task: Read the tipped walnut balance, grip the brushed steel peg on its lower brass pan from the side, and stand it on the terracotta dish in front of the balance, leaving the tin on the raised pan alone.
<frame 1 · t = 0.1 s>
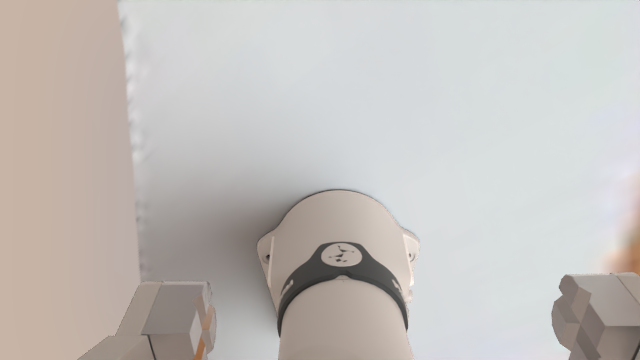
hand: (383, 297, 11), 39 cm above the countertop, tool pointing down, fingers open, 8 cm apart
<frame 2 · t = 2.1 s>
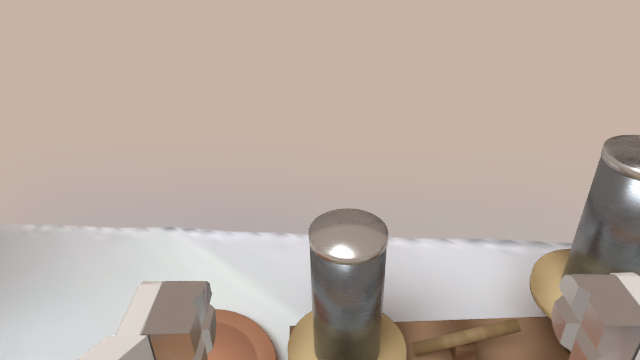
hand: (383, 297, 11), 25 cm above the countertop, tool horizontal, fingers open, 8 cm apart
brushed steel peg: (346, 346, 37), point 3 cm above the countertop, touching balance
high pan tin: (599, 289, 34), point 8 cm above the countertop, touching balance
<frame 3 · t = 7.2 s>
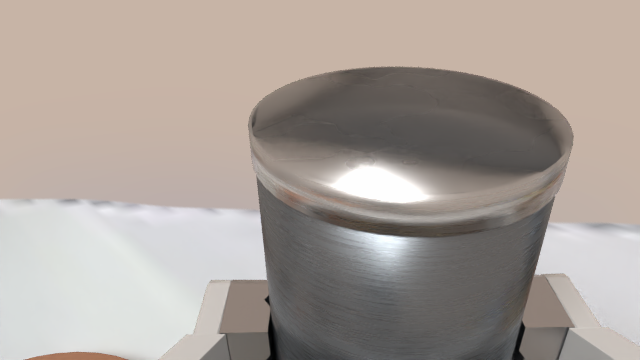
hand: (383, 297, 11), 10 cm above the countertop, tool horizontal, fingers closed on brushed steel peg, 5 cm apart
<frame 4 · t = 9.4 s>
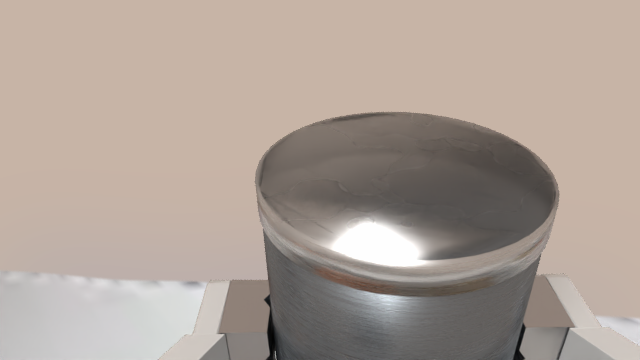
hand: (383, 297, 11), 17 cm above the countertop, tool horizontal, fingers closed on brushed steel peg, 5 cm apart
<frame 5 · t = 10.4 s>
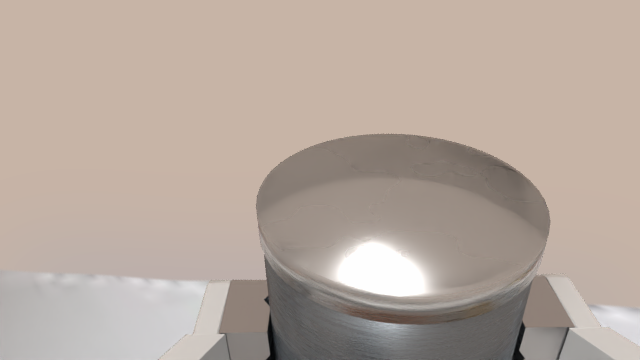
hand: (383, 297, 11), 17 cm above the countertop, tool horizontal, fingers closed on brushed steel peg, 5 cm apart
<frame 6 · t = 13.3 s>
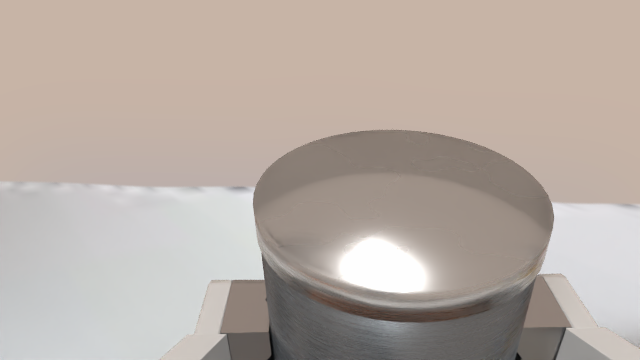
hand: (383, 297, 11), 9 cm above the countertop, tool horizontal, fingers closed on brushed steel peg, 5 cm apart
when the fingers open (9 cm above the countertop, at t = 13.5 s): brushed steel peg stays where it is, resting on dish.
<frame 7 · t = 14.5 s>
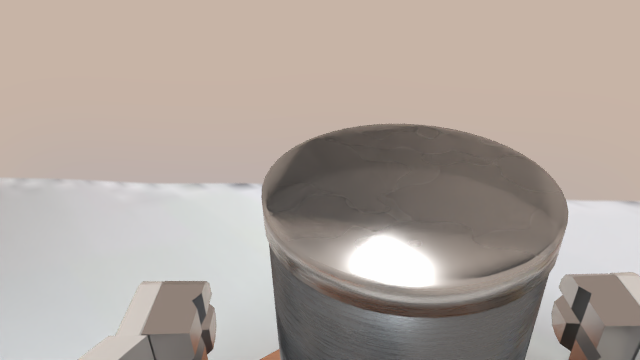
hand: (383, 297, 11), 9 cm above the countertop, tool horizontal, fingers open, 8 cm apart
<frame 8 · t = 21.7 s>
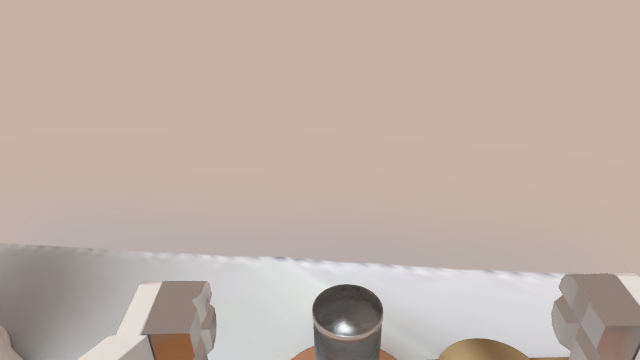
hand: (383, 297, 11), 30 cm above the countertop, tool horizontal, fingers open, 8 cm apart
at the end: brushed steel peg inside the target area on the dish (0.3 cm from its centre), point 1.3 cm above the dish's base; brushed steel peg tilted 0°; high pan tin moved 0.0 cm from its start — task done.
